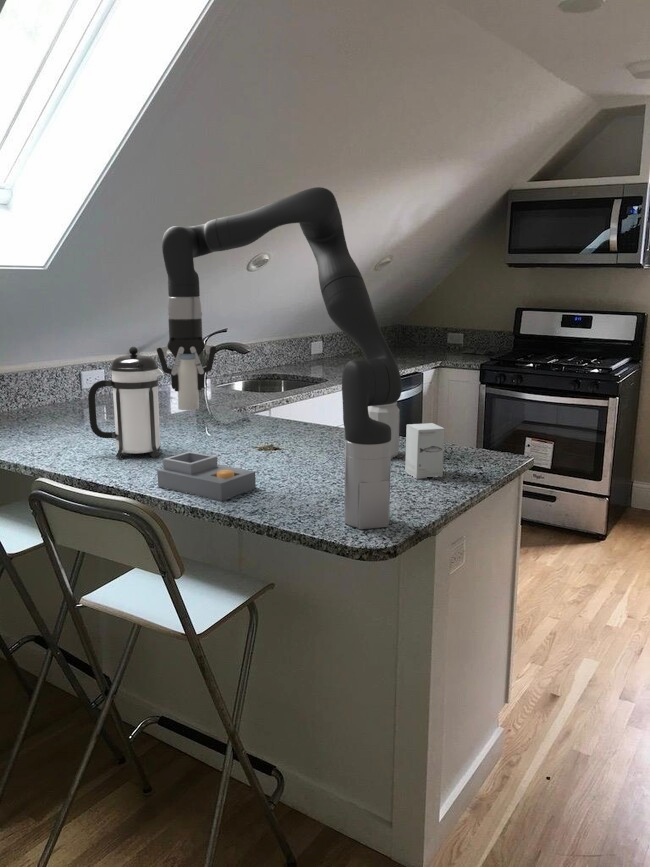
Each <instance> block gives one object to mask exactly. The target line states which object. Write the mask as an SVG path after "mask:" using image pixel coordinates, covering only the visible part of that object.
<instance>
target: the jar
mask: <svg viewBox="0 0 650 867" xmlns="http://www.w3.org/2000/svg"><path fill="white" fill-rule="evenodd" d="M400 411H401V410H400V408H399V407H398V401H396V402H395V403H392V404H388V405H378V406H368V414H369V417H370V418H371V419H373V420H376V421H380V422H383V423H386V424H388V425H389V426H390V427H391V458H392V459H394V458H396V457H397V456H398V454H399V447H400V446H399V445H400V444H399V443H400ZM395 456H396V457H395ZM393 457H394V458H393Z"/></svg>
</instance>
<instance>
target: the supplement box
mask: <svg viewBox="0 0 650 867" xmlns="http://www.w3.org/2000/svg"><path fill="white" fill-rule="evenodd" d="M405 434H406V436H405V438H406V439H405V440H406V441H405V464H404V466H405V467H404V468H405V469H404V470H405V471H404V472H405V473H406V474H407V475H409V476H410V475H411V476H410V477H412V476H413V477H412V478H413V479H415V478H416V479H415V480H419V479H428V478H427V477H433V478H436V477H435V476H442V477H444V476H443V473H444V454H445V453H444V451H445V450H444V448H445V428H444V427H442V426H440V425H438V424H436V423H433V422H429V423H412V424H411V423H409V424H406V433H405Z"/></svg>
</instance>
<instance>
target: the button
mask: <svg viewBox="0 0 650 867" xmlns="http://www.w3.org/2000/svg"><path fill="white" fill-rule="evenodd" d="M217 477H219V478H224V479H228V478H231V477H234V471H232V470H220V471H217Z"/></svg>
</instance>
